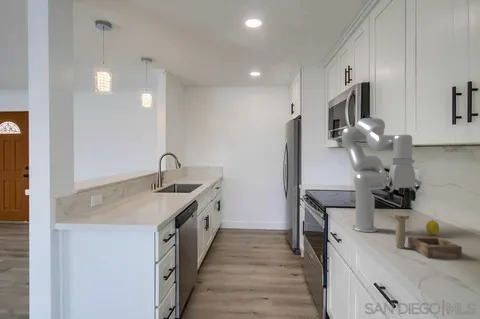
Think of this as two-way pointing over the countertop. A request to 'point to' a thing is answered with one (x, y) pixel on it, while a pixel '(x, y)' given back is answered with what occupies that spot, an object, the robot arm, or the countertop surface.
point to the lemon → (432, 227)
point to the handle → (400, 229)
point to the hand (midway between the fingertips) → (401, 200)
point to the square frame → (435, 247)
